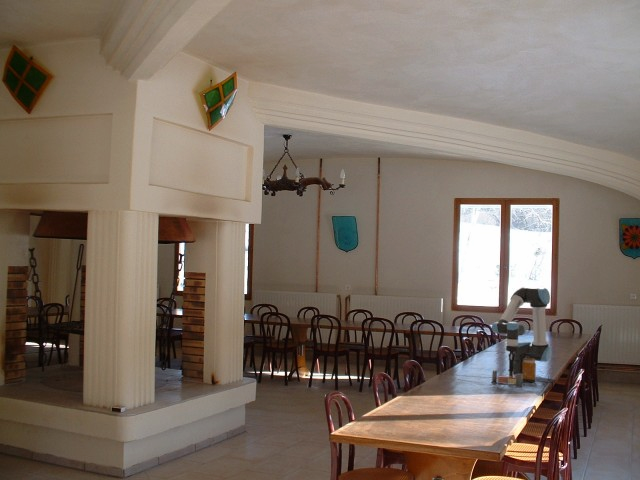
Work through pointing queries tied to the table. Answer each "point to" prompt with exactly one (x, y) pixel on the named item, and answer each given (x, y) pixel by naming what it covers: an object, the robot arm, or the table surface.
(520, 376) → the grey hammer
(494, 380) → the post
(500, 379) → the pink l-shaped bracket
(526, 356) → the canister
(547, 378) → the table surface
